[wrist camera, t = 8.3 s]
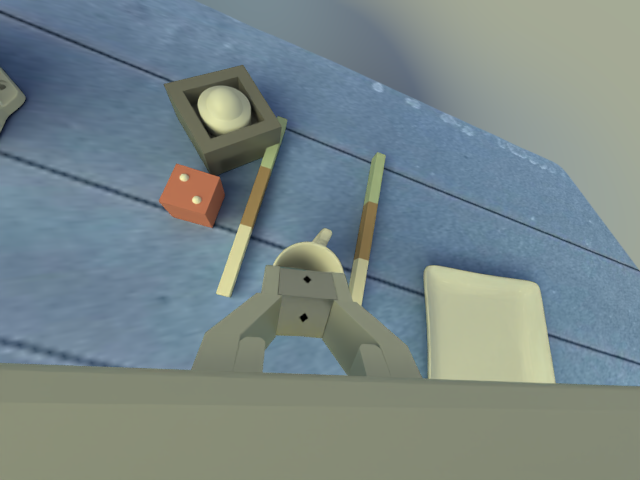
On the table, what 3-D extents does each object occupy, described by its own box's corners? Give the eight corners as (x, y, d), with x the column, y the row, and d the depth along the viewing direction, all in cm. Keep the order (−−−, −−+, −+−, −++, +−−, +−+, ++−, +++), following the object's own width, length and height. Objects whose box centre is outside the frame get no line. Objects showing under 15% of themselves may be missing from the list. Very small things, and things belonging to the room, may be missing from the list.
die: (212, 227, 33) (204, 213, 28) (173, 217, 32) (157, 199, 27) (225, 195, 34) (219, 175, 29) (187, 183, 34) (175, 161, 29)
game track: (352, 326, 34) (357, 327, 32) (218, 294, 31) (215, 293, 29) (380, 162, 42) (385, 155, 40) (276, 125, 39) (277, 115, 38)
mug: (303, 324, 32) (327, 331, 21) (256, 302, 32) (255, 298, 21) (332, 256, 36) (366, 232, 25) (290, 235, 35) (306, 200, 24)
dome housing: (177, 116, 36) (163, 84, 31) (244, 96, 39) (243, 64, 34) (211, 177, 35) (203, 154, 30) (278, 151, 38) (281, 126, 33)
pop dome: (193, 107, 33) (184, 79, 29) (237, 94, 36) (234, 66, 31) (215, 146, 33) (209, 122, 29) (259, 130, 35) (259, 106, 31)
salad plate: (521, 283, 43) (542, 281, 40) (540, 427, 37) (567, 438, 34) (411, 266, 39) (425, 262, 36) (413, 424, 33) (430, 437, 30)
